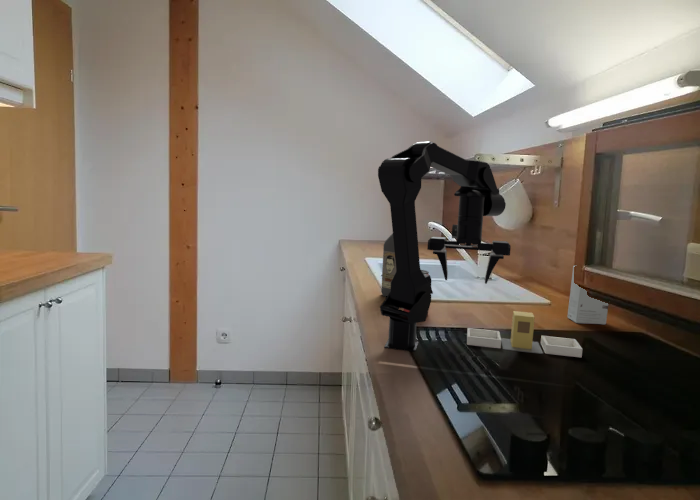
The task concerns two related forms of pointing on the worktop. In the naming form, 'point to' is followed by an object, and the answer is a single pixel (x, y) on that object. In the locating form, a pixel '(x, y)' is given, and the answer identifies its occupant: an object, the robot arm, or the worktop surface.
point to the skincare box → (585, 306)
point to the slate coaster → (535, 348)
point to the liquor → (388, 265)
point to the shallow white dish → (483, 338)
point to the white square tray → (561, 346)
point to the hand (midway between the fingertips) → (465, 281)
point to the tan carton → (522, 329)
